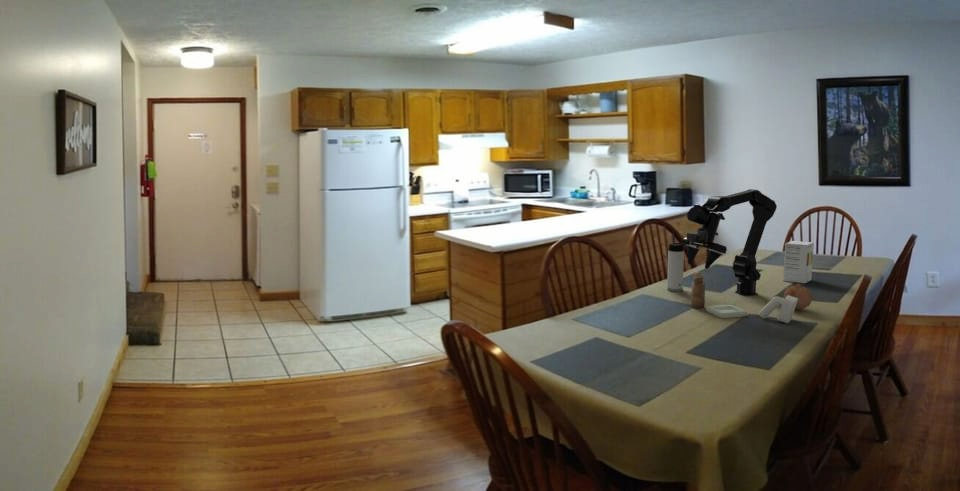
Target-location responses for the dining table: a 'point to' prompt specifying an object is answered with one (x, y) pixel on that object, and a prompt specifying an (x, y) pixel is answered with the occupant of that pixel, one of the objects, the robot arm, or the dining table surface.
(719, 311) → the keeper dish
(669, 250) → the travel mug
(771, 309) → the wall hook
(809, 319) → the dining table surface
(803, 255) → the supplement box
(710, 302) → the dining table surface
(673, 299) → the dining table surface
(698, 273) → the pepper mill
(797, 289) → the onion
